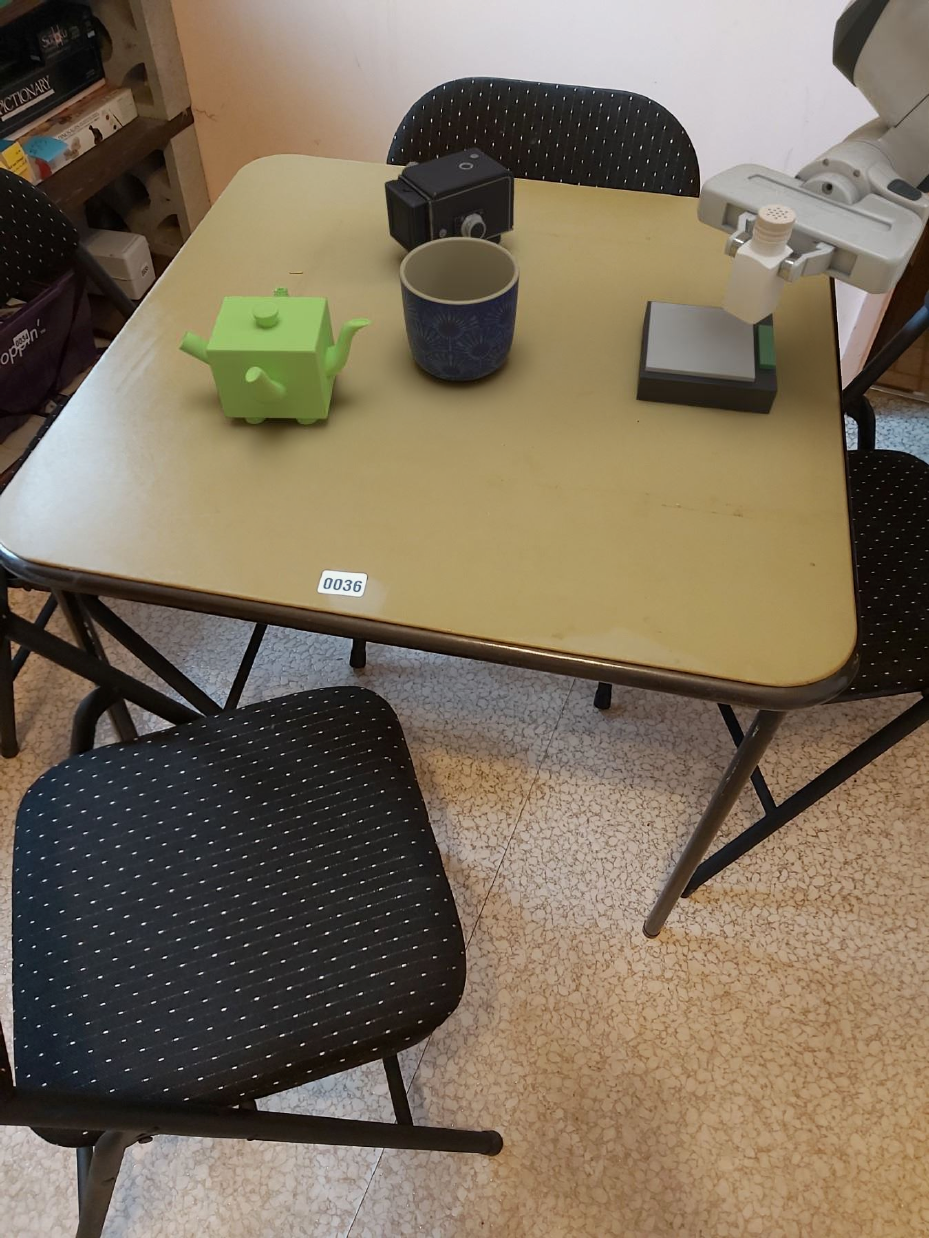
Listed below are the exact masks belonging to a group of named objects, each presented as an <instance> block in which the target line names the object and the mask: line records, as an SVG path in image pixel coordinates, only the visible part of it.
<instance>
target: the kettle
mask: <svg viewBox="0 0 929 1238" xmlns="http://www.w3.org/2000/svg"><path fill="white" fill-rule="evenodd" d="M273 292H274V294H273V296H224V298H223V300H222V304H221V307H220V309H219V312H218V315H217V317H216V320H215V324H214V327H213V329H212V332H211V335H210V338H209V340H206V339H204V338H203V337H201V336H198V335H197V334H195V333H193V332H191V331H189V330H187V331H186V332H185V334H184V336H183V338H182V340H181V341H180V344H179V347H178V350H180V351H182V352H184V353H186V354H188V355H189V356H191V357H193V358H195V359H197V360H199V361H201V362H203V363H205V364H207V365H208V366H209V368H210V370H211V373H212V376H213V381H214V383H215V387H216V390H217V393H218V397H219V400H220V403H221V406H222V410H223V413H224V416H225V418H245V421H246V422H247V423H248V424H254V425H255V424H256V425H257V424H260V423H262V422H264V421H265V420H266V419H267V418H268V419H295V420H296V421H297V423H299V424H301V425H311V424H313V423H315V422H316V421H317V420H318V419H328V416H329V415H328V414H329V410H330V405H331V401H332V400H331V399H332V394H333V390H334V385H335V378H336V376H337V375H338V374H339V373H340V372H342V370H343V369H344V367H346V364H347V362H348V358H349V355H350V351H351V345H352V341H353V338H354V336H355V335H356V333H357V332H358V331H359V330H361V329H363V328H364V327H367V326H369V325H370V324H371V323H372V320H371V319H368V318H354V319H349V320H348V321H346V322H345V323H344V324H343V325H342V326H341V328H340V331H339V333H338V337H337V341H336V343H335V339H334V333H333V327H332V321H331V314H330V307H329V301H328V297H325V296H323V297H320V296H319V297H318V296H289V291H288V287H287V286H276V288H275V289H274V291H273Z"/></svg>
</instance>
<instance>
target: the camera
mask: <svg viewBox="0 0 929 1238" xmlns="http://www.w3.org/2000/svg"><path fill="white" fill-rule="evenodd" d="M384 194H385V200H386V201H385V203H386V212H387V220H388V221H387V222H388V230H389V236H390V237H391V238H393V240H394V241H396V242H397V243H398V245H400V246H401V247H402V248H403V249H404V250H405V251H406V252H408V254H409V253H410V252H411V251H412V250H414V249H415V248H417V247H419V246H421V245H423V244H425V243H428V242H431V241H434V240H438V239H443V238H450V237H470V238H478V239H483V240H487V241H490V242H493V243H495V244H498V245H500V243H501V240H502V235H503V234H506V233H509V232H512V231H514V224H515V221H514V219H515V218H514V216H515V215H514V213H515V211H514V210H515V176H514V174H513V172H512V171H511V170H510V169H508V168H507V167H505V166H504V165H502V164H500V162H498V161H496V160H494V159H493V158H491V157H490V156H488V154H485V153H484V152H483V151H481V149H480V148H479V147H470V148H467V149H464V150H461V151H458V152H455V153H451V154H448V155H445V156H442V157H438V158H434V159H431V160H427V161H424V162H421V163H418V162H417V161H411V162H408V163H407V164H406V165H405V167H404V168H403V169H402V170H401V174H399V173H398V174H397V179H391V180H388V181H385V182H384Z"/></svg>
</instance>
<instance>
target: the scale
mask: <svg viewBox="0 0 929 1238" xmlns="http://www.w3.org/2000/svg"><path fill="white" fill-rule="evenodd" d="M773 313H774V312H773ZM773 313H771V314H770V315H768V316H766V317H765V318H763V319H762V320H760V321H759V322H757V323H756V324H748V323H747V322H745V321H743V320H741V319H739V318H738V317H736V316H734V315H732V314H730V313H729V312H727V311H725V310H724V309H723V307H717V306H705V305H696V304H695V305H694V304H682V303H674V302H662V301H655V300H653V301H652V300H647V301H646V307H645V313H644V318H643V322H642V333H641V343H640V356H639V365H638V366H639V367H638V377H637V378H638V379H637V387H636V388H637V390H636V400H638V401H647V402H656V403H665V404H674V405H682V406H683V405H684V406H693V407H701V408H710V409H711V408H712V409H721V410H729V411H730V410H731V411H739V412H748V413H758V414H767V415H769V414H771V410H772V407H773V405H774V402H775V399H776V396H777V393H778V379H777V378H778V377H777V362H776V345H775V331H774V315H773Z"/></svg>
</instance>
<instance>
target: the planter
mask: <svg viewBox="0 0 929 1238" xmlns="http://www.w3.org/2000/svg"><path fill="white" fill-rule="evenodd" d="M520 272H521V271H520V265H519V262H518V260H517V258H516V257H515V256H514V254H512V252H510V251H509V250H508V249H507V248H505V247H503V246H502V245H501V244H495V243H493V242H490V241H487V240H483V239H478V238H470V237H450V238H443V239H438V240H434V241H431V242H428V243H425V244H423V245H421V246H419V247H417V248H415V249H414V250H412V251H411V252H410V253H409V252H408V253H407V255H406V256H405V257H403V260H402V261H401V263H400V266H399V271H398V273H399V283H400V291H401V301H402V309H403V317H404V318H403V319H404V325H405V331H406V337H407V341H408V345H409V349H410V352H411V354H412V357H413V359H414V360H415V362H416V363H417V365H419V367H420V368H422V369H423V370H424V371H425V372H426V373H428V374H430V375H432V376H434V377H436V378H439V379H442V380H447V381H453V382H468V381H473V380H474V381H475V380H478V379H482V378H484V377H486V376H489V375H490V374H493V373H494V372H495V371H497V370H498V369H500V367H501V366H502V365H503V364H504V363H505V361H506V359H507V358H508V356H509V354H510V352H511V349H512V348H511V347H512V344H513V340H514V334H515V327H516V320H517V319H516V318H517V307H518V296H519V286H520V285H519V283H520V274H521V273H520Z"/></svg>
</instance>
